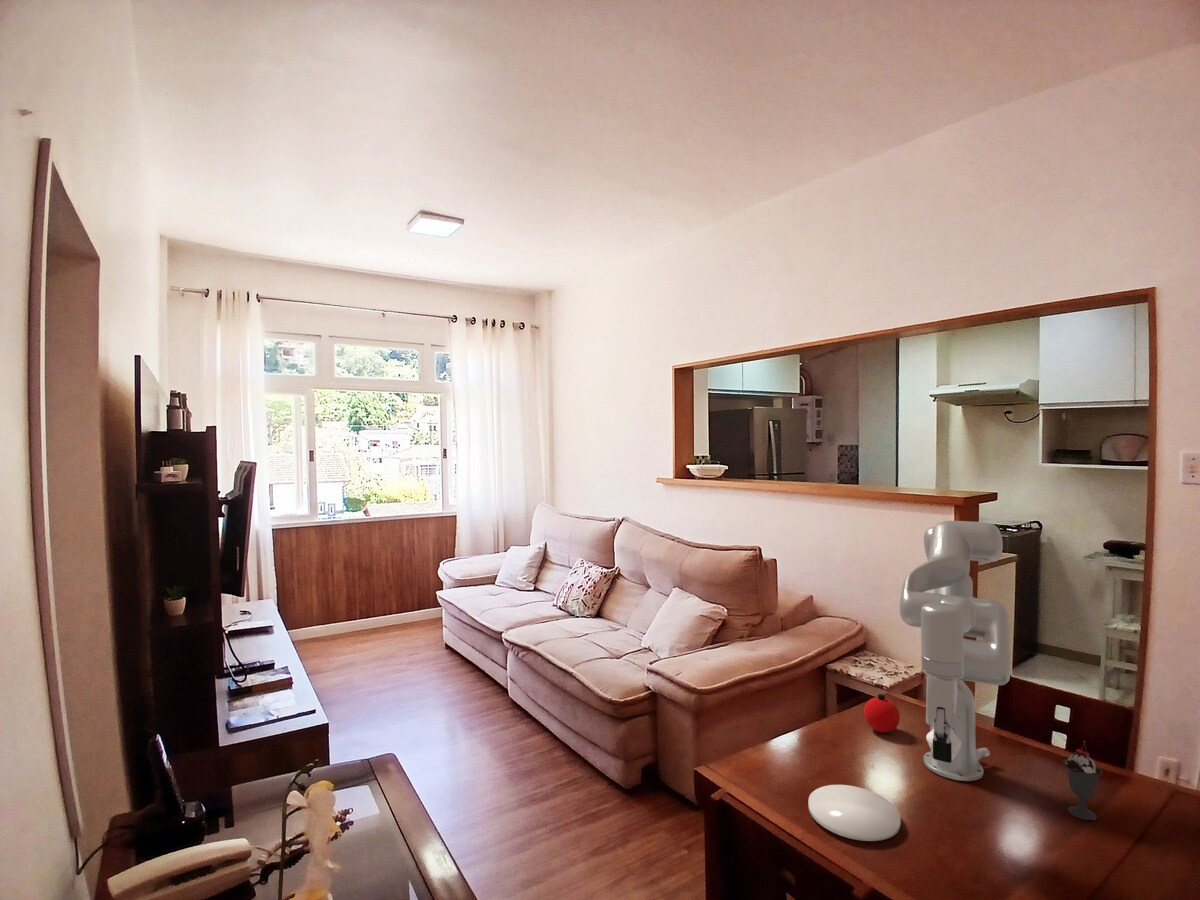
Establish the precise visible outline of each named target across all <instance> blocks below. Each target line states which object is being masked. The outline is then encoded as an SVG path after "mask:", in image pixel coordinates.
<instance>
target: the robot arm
mask: <svg viewBox="0 0 1200 900" xmlns="http://www.w3.org/2000/svg"><path fill="white" fill-rule="evenodd" d="M923 545H924V546H923V547H924V551H925V556H926V558H927V561H925V562H923V563H921V564H920V565H918V566H916V567H915V568H914V569H912V570H911V571H910V572H909V573H908V574H907V576H906V577H905V578H904V580H903V583H902V588H901V593H900V599H899V600H900V601H899V613H900V617H901V620H902V621H903V622H904V623H905V624H906V625H908V626H910V627H914V628H915V627H916V628H920V636H921V638H920V640H921V641H920V642H921V643H920V644H921V645H920V647H921V651H920V652H921V672H922V673H924V674H925V675H926V686H925V687H926V688H925V689H926V691H925V696H926V698H925V703H926V705H925V709H926V710H925V723H926V724H927V726H928V725H929V726H930V727H929V730H930V731H932V730H933V729H934V738H933V752H932V750H931V749H930V751H927V752H926V753H925V754H924V755H923V763H924V765H925V766H926V768H927V769H929V770H930V771H932V772H933V773H934V774H935V775H939V776H941V777H943V778H947V779H948V780H955V781H960V782H973V781H977V780H980V779H982V778H983V776H984V767H983V766H982V764H981V763H980V762H979V760H981V759H982V758H985V757H990V755H991V751H990V750H989V748H987V747H980V748H976V700H975V697H974V694H973V692H972V690H971V688H969V686H968V685H967V684H966V683H965V682H966V681H967V682H974V683H978V684H979V683H980V684H986V685H992V686H1004V685H1006V684H1007V683H1008V682H1009V681H1010V678H1011V671H1012V669H1011V667H1012V666H1011V665H1012V664H1011V663H1012V662H1011V639H1010V638H1011V635H1010V634H1011V633H1010V632H1011V631H1010V617H1009V613H1008V610H1007V608H1006V607H1005V605H1004V604H1003V603H1001V602H1000V601H998V600H994V599H988V598H981V597H979V598H978V597H974V595H973V593H974V592H973V589H974V588H973V587H974V582H973V581H974V580H973V579H972V577H971V575H969V574H970V570H971V569H970V568H971V561H975V562H985V563H986V562H989V563H994V562H997V561H998V560H1000V559H1001V557H1002V554H1003V550H1004V549H1003V548H1004V547H1003V546H1004V544H1003V536H1002V532H1001V531H1000V528H998V527H997V526H996V525H995V524H994V523H990V522H988V521H987V522H984V521H967V520H944V521H940V522H938V523H936V524H935V525H934V526H932V527H928V528H927V529H926V530H925V531H924V535H923ZM933 590H934V592H927V591H933ZM964 637H969V638H970V637H971V638H975V639H983V640H985V641H983V640H975V639H968V638H964ZM944 724H947V725H948V726H944ZM944 729H947V735H946V733H945V732H944ZM950 729H953V732H954V734H955V735H956V736H957V737H958V738H959V739H960V741H961V747H960V748H959V749H960V750H959V752H958V753H957V755H956V756H955V758H954V759H953V760H952V751H951V742H950ZM930 731H929V732H930Z"/></svg>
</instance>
